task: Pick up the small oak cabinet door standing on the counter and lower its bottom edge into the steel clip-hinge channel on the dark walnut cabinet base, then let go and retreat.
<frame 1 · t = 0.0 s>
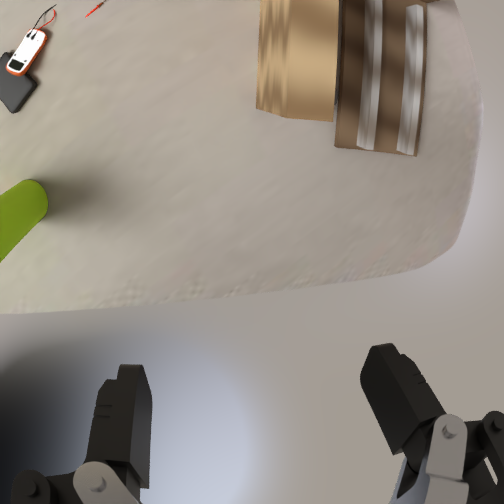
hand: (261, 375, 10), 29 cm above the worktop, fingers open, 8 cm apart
hinge base: (384, 60, 32), on the worktop
multimeter: (41, 34, 24), on the worktop
oak door: (274, 42, 30), on the worktop
soap dispenser: (29, 197, 33), on the worktop
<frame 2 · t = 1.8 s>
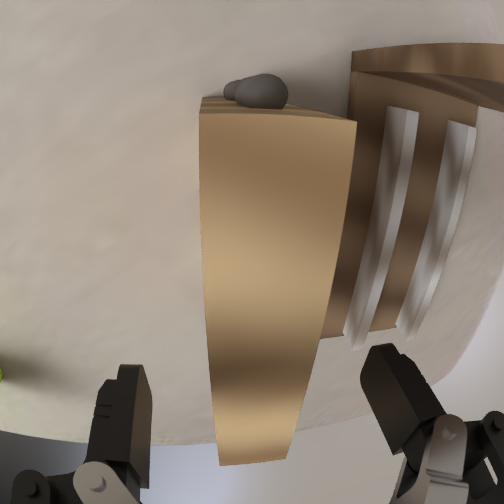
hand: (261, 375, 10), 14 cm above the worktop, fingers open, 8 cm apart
hinge base: (400, 213, 24), on the worktop
oak door: (228, 213, 22), on the worktop
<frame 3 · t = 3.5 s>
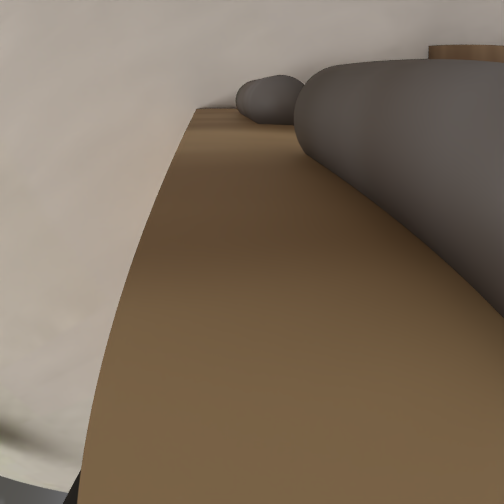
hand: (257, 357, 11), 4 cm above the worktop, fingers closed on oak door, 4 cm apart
hinge base: (464, 270, 17), on the worktop
oak door: (239, 289, 15), on the worktop, touching gripper
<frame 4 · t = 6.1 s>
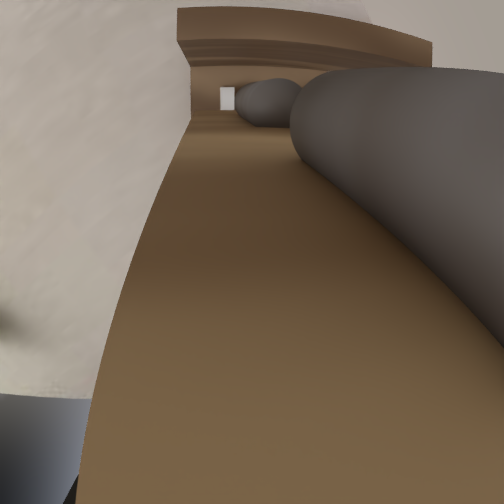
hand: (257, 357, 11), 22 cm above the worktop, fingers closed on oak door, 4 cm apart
hinge base: (257, 175, 30), on the worktop
oak door: (238, 290, 15), point 17 cm above the worktop, touching gripper
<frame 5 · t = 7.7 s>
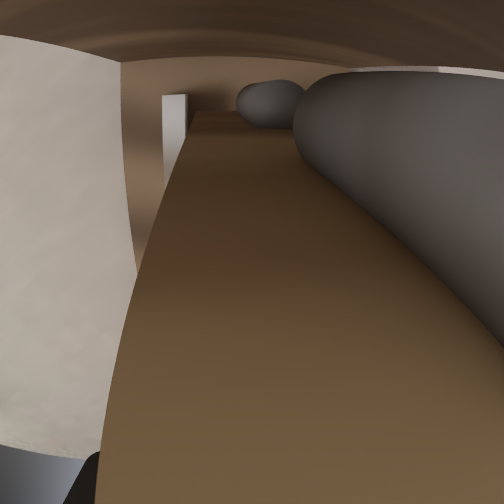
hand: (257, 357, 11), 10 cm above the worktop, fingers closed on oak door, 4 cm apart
hinge base: (232, 235, 20), on the worktop
oak door: (239, 290, 15), point 6 cm above the worktop, touching gripper
when the fingers open (6 cm above the worktop, at t = 8.9 s): oak door stays where it is, resting on hinge base.
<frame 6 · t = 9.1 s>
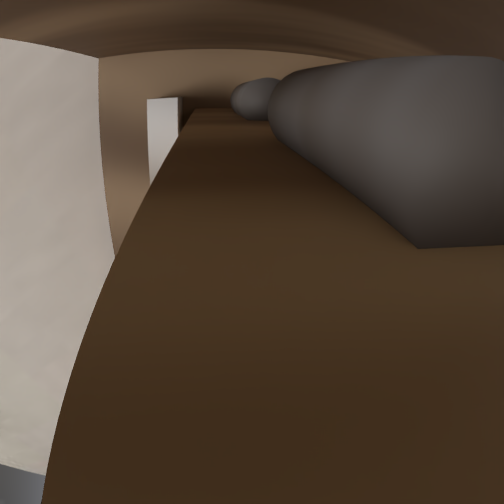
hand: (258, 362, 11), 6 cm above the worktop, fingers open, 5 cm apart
hinge base: (238, 268, 17), on the worktop
oak door: (235, 279, 16), point 1 cm above the worktop, touching hinge base
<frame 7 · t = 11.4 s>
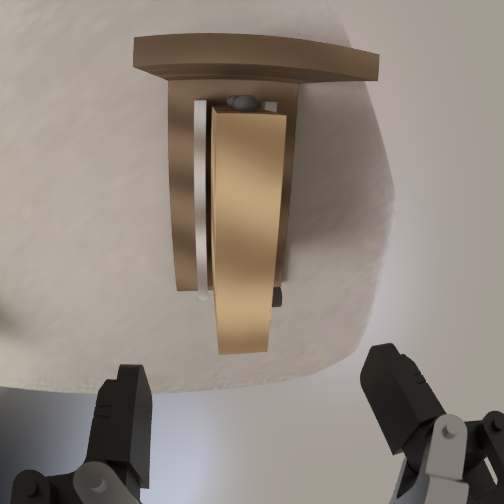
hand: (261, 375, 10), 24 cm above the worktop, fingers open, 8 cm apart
hinge base: (230, 184, 32), on the worktop
oak door: (228, 186, 31), point 1 cm above the worktop, touching hinge base
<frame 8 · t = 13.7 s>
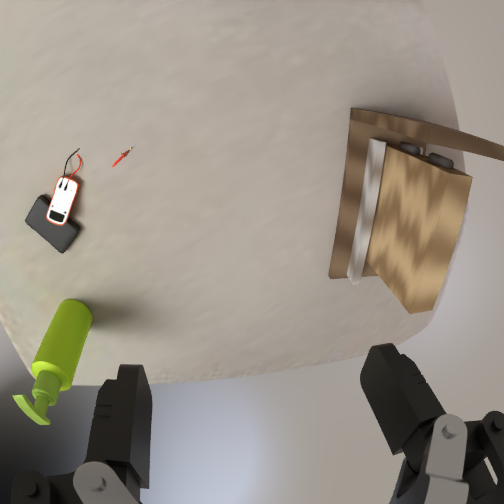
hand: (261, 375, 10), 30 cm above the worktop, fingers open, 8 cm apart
hinge base: (379, 199, 42), on the worktop
multimeter: (70, 177, 35), on the worktop
oak door: (381, 201, 41), point 1 cm above the worktop, touching hinge base
soap dispenser: (74, 310, 43), on the worktop
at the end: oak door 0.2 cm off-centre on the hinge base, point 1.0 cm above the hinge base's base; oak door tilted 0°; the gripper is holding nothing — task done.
